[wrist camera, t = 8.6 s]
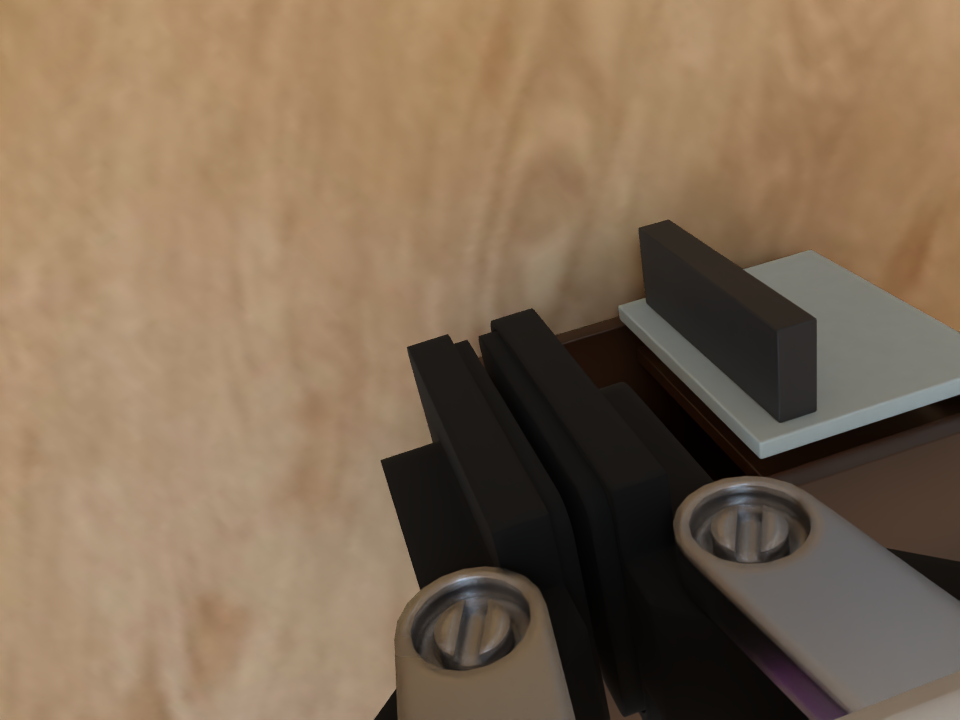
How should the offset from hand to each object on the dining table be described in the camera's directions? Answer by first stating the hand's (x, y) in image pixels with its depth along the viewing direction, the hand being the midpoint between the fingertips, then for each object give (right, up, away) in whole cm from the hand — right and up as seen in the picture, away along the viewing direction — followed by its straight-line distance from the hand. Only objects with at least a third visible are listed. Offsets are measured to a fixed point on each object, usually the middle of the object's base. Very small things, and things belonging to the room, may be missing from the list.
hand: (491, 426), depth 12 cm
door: (+9, +5, +21) cm, 24 cm away
